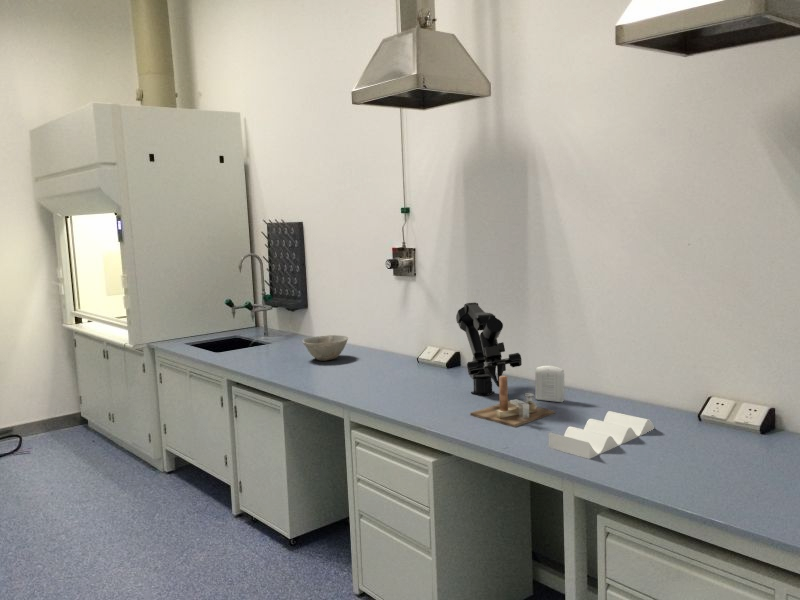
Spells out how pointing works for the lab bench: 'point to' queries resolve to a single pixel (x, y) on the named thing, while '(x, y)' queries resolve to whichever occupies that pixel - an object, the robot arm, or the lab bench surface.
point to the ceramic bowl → (325, 346)
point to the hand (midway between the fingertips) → (499, 386)
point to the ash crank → (504, 408)
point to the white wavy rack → (600, 435)
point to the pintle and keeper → (523, 405)
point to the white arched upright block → (549, 383)
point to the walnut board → (510, 420)
